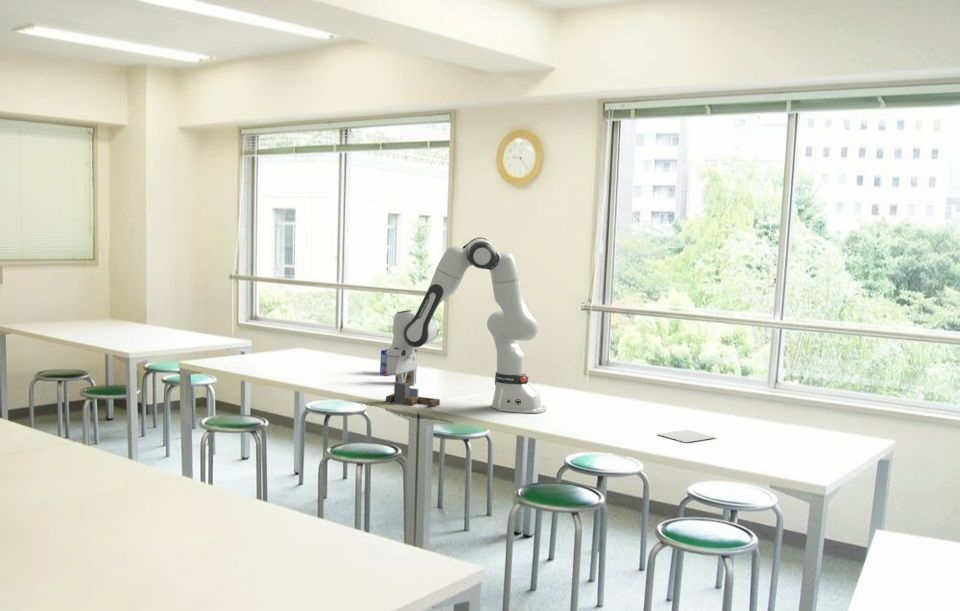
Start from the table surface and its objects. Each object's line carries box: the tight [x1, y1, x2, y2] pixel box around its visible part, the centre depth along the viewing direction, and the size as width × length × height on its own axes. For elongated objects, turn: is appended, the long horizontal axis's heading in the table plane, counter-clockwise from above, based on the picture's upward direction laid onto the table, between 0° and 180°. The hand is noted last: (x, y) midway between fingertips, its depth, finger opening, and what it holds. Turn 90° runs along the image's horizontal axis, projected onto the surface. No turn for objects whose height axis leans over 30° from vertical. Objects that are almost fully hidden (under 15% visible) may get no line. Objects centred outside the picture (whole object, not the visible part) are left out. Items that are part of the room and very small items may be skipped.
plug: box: [393, 382, 411, 405], centre depth 354 cm, size 5×4×8 cm
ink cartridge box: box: [379, 348, 391, 377], centre depth 424 cm, size 10×6×14 cm, turn 153°
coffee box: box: [394, 348, 418, 386], centre depth 398 cm, size 9×6×16 cm
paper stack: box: [657, 429, 718, 443], centre depth 306 cm, size 23×25×1 cm
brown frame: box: [385, 387, 441, 408], centre depth 353 cm, size 21×10×5 cm, turn 68°
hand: (401, 383), depth 353 cm, fingers closed, pressing on plug
